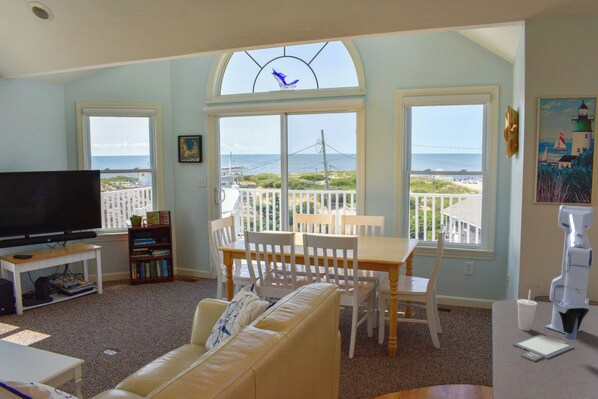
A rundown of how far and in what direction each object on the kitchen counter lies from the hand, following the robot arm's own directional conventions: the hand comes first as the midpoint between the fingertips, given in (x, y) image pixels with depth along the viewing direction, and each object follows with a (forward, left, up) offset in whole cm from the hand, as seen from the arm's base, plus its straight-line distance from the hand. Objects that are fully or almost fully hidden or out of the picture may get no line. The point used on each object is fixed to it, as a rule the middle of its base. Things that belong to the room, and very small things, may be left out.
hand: (570, 331), depth 137 cm
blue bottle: (0, 0, -2) cm, 2 cm away
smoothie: (-10, -19, -8) cm, 23 cm away
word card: (+10, -5, -8) cm, 14 cm away
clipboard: (-1, -8, -8) cm, 11 cm away
